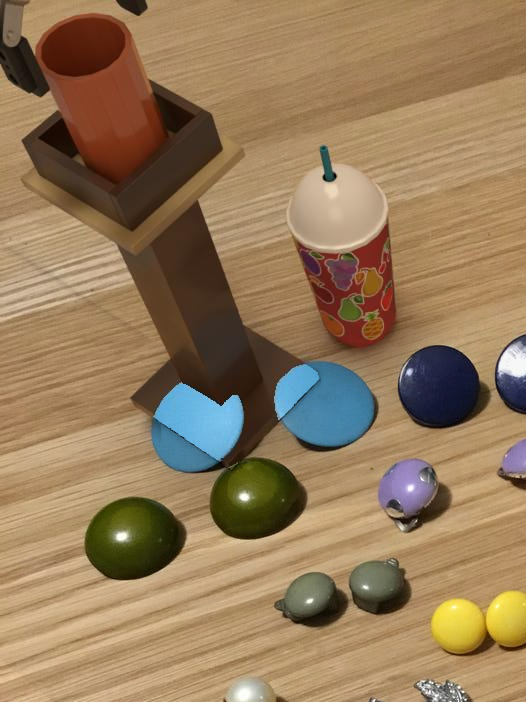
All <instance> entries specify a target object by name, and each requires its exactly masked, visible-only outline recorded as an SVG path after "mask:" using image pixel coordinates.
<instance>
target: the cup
mask: <svg viewBox="0 0 526 702" xmlns="http://www.w3.org/2000/svg"><path fill="white" fill-rule="evenodd" d="M34 47H35V48H34V49H35V50H34V55H35V57H36V59H37V61H38V64H39V66H40V68H41V70H42V72H43V74H44V76H45V79H46V81H47V83H48V85H49V87H50V91H49V93H50V96H51V98H52V100H53V102H54V104H55V107H56V110H58V111H59V113H60V115H61V117H62V119H63V121H64V124H65V126H66V128H67V130H68V132H69V134H70V136H71V139H72V141H73V143H74V145H75V147H76V149H77V151H78V154H79V156H80V158H81V160H82V162H83V164H84V166H85V167H87V168H88V169H90V170H92V171H93V172H95V173H97V174H98V175H100V176H102V177H103V178H105V179H107V180H108V181H110V182H112V183H113V184H115V185H116V186H117V185H118V184H119V183H121V182H122V181H123V180H124V179H125V178H126V177H127V176H128V175H130V174H131V173H132V172H133V171H134V170H135V169H136V168H138V167H139V166H140V165H141V164H142V163H143V162H144V161H146V160H147V159H148V158H149V157H150V156H151V155H152V154H153V153H155V152H156V151H157V150H158V149H159V148H160V147H161V146H163V145H164V144H165V143H166V142H167V141H168V140H169V139H170V137H169V134H168V132H167V129H166V126H165V123H164V121H163V118H162V115H161V113H160V110H159V107H158V104H157V102H156V99H155V96H154V94H153V91H152V88H151V86H150V83H149V80H148V79H149V78H148V75H147V72H146V69H145V66H144V65H143V61H142V59H141V56H140V52H139V50H138V48H137V44H136V42H135V39H134V37H133V34H132V32H131V31H130V29H129V28H128V26H127V25H126V23H125V22H124V21H122V20H120V19H118V18H116V17H115V16H113V15H112V14H104V13H98V12H89V13H81V14H74V15H72V16H70V17H66V18H64V19H62V20H60V21H56V23H54V24H53V25H52V26H51V27H49V28H48V29H47V30H46V31H44V32H43V33H42V35H41V37H40V38H39V39H38V42H37V43H36V45H35V46H34Z"/></svg>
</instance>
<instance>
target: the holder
mask: <svg viewBox="0 0 526 702" xmlns="http://www.w3.org/2000/svg"><path fill="white" fill-rule="evenodd" d="M148 80H149V83H150V86H151V88H152V91H153V94H154V96H155V99H156V102H157V104H158V107H159V110H160V113H161V115H162V118H163V121H164V123H165V126H166V129H167V132H168V134H169V137H170V139H169V140H168V141H167V142H166V143H165V144H164V145H163V146H161V147H160V148H159V149H158V150H157V151H156V152H155V153H153V154H152V155H151V156H150V157H149V158H148V159H147V160H146V161H144V162H143V163H142V164H141V165H140V166H139V167H138V168H136V169H135V170H134V171H133V172H132V173H131V174H130V175H128V176H127V177H126V178H125V179H124V180H123V181H122V182H121V183H119V184H118V185H117V186H116V185H115V184H113V183H112V182H110V181H108V180H107V179H105V178H103V177H102V176H100V175H98V174H97V173H95V172H93V171H92V170H90V169H88V168H87V167H85V166H84V164H83V162H82V160H81V158H80V156H79V154H78V151H77V149H76V147H75V145H74V143H73V141H72V139H71V136H70V134H69V132H68V130H67V128H66V126H65V124H64V121H63V119H62V117H61V115H60V113H59V111H58V109H56V110H55V111H54V112H53V113H52V114H50V115H49V116H48V117H47V118H46V119H45V120H43V121H42V122H41V123H40V124H39V125H37V126H36V127H35V128H33V130H31V131H30V132H29V133H28V134H27V135H25V136H24V137H23V138H22V139H21V140H20V141H21V143H22V145H23V147H24V149H25V151H26V153H27V155H28V156H29V158H30V161H31V163H32V164H33V167H32V168H30V169H29V170H28V171H26V173H24V174H23V175H22V176H21V177H20V178H19V180H20V182H21V183H22V185H23V187H24V188H26V189H27V190H29V191H30V192H32V193H34V194H35V195H37V196H38V197H40V198H42V199H43V200H45V201H46V202H48V203H50V204H51V205H53V206H54V207H56V208H58V209H59V210H61V211H63V212H64V213H65V214H67V215H69V216H70V217H73V218H74V219H75V220H78V221H79V222H80V223H82V224H84V225H85V226H87V227H89V228H90V229H92V230H93V231H95V232H97V233H98V234H100V235H101V236H103V237H105V238H106V239H108V240H110V241H112V242H113V243H114V244H116V246H117V249H118V251H119V253H120V256H121V257H122V259H123V262H124V264H125V265H126V267H127V270H128V272H129V274H130V276H131V278H132V281H133V282H134V285H135V287H136V289H137V291H138V293H139V295H140V297H141V299H142V301H143V304H144V306H145V308H146V310H147V312H148V315H149V316H150V319H151V320H152V322H153V325H154V326H155V329H156V331H157V334H158V336H159V337H160V338H159V339H161V342H162V344H163V346H164V348H165V350H166V352H167V354H168V356H169V359H168V360H167V361H166V362H165V363H164V364H163V365H162V366H161V367H160V368H159V369H157V371H156V372H155V373H154V374H152V376H150V377H149V379H148V380H147V381H145V382H144V384H142V385H141V387H139V388H138V389H137V390H136V391H135V392H134V393H133V394H132V395H131V396H130V397H129V398H130V400H131V403H132V404H133V406H134V407H135V408H137V409H139V410H140V411H142V412H143V413H145V414H146V415H148V416H149V417H150V418H152V419H154V418H153V416H154V415H155V412H156V410H157V408H158V407H159V405H160V403H161V401H162V400H163V398H164V397H165V396H166V395H167V394H168V393H169V392H170V391H171V390H172V389H173V388H174V387H175V386H176V385H178V384H179V383H181V382H182V383H183V384H186V385H188V386H190V387H191V388H193V389H195V390H196V391H198V392H200V393H202V394H203V395H205V396H207V397H208V398H210V399H211V400H213V401H215V402H216V403H217V404H219V405H220V406H222V405H223V404H224V402H226V400H228V399H229V398H230V397H231V396H232V395H238V396H239V398H240V400H241V403H242V406H243V411H244V424H243V428H242V433H241V435H240V438H239V440H238V442H237V444H236V445H235V446H234V448H233V450H232V451H231V452H230V453H229V454H228V455H226V456H225V457H224V458H221V460H222V464H223V465H222V464H221V465H222V466H223V467H224V468H226V469H228V467H230V466H232V465H234V464H236V463H237V462H239V461H241V460H242V461H243V460H244V459H245V458H246V457H247V456H248V454H250V452H252V450H253V449H254V448H255V447H256V446H257V445H258V444H259V443H260V442H261V441H262V440H263V439H264V438H265V437H266V436H267V435H268V434H269V433H270V432H271V431H272V430H273V429H274V428H275V426H276V425H278V424H279V423H280V421H279V420H278V417H277V413H276V411H275V403H274V396H275V390H276V386H277V383H278V382H279V380H280V379H281V378H282V377H283V376H285V374H287V373H288V372H289V371H290V370H291V369H292V368H294V367H296V366H299V365H303V364H307V363H306V362H305V361H303V360H301V359H300V358H298V357H296V356H295V355H293V354H291V352H288V351H287V350H285V349H284V348H282V347H280V346H279V345H277V344H276V343H274V342H272V341H270V340H269V339H267V338H265V337H264V336H262V334H260V333H258V332H256V331H254V330H253V329H251V328H249V327H248V326H246V325H245V324H244V323H243V320H242V317H241V315H240V312H239V309H238V306H237V303H236V300H235V297H234V296H233V293H232V289H231V287H230V284H229V281H228V279H227V275H226V273H225V271H224V270H225V269H224V268H223V264H222V262H221V260H220V256H219V254H218V251H217V248H216V245H215V242H214V240H213V237H212V234H211V231H210V229H209V226H208V224H207V221H206V218H205V215H204V212H203V210H202V206H201V204H200V202H199V199H200V198H202V196H204V195H205V194H206V193H207V192H208V191H209V190H210V189H211V188H212V187H214V185H215V184H217V183H218V182H220V181H221V179H222V178H223V177H224V176H226V175H227V174H228V173H229V172H230V171H231V170H232V169H233V168H234V167H235V166H236V165H238V164H239V163H240V162H241V161H242V160H243V159H244V158H245V157H246V153H245V150H244V147H243V146H241V145H240V144H238V143H236V142H235V141H233V140H231V139H229V138H228V137H226V136H224V135H222V134H220V133H219V132H218V129H217V125H216V122H215V118H214V116H213V114H212V113H211V112H210V111H208V110H206V109H204V108H203V107H201V106H199V105H198V104H195V103H193V102H192V101H190V100H188V99H187V98H186V97H183V96H181V95H180V94H178V93H176V92H174V91H172V90H170V89H168V88H166V87H165V86H163V85H161V84H160V83H157V82H156V81H154V80H152V79H151V78H148ZM264 436H265V437H264ZM262 438H263V439H262ZM260 440H261V441H260ZM242 461H241V462H242Z"/></svg>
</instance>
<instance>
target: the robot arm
mask: <svg viewBox="0 0 526 702" xmlns="http://www.w3.org/2000/svg"><path fill="white" fill-rule="evenodd" d="M115 1H116V3H117V5H118V6H119V7H120V8H121V9H123V10H125V11H127V12H129V13H131V14H133V15H134V16H137V17H140V16H141V15H142V14H144V13H145V12H146V11H147V10H148V8H149V6H148V3H147V1H146V0H115ZM30 3H31V0H0V67H1V69H2V71H3V72H4V76H5V77H6V79H7V80H8V82H10V83H11V84H12V85H14V86H15V87H17V88H18V89H21V91H23V92H26V93H28V95H30V94H33V95H35V96H36V97H38V98H43V97H44V96H45V95H46V94H48V93H50V87H49V85H48V83H47V81H46V79H45V76H44V74H43V72H42V70H41V68H40V66H39V64H38V61H37V59H36V57H35V52H34V51H33V49H32V47H31V44H30V42H29V40H28V38H27V37H25V36H23V35H22V29H23V28H22V27H23V17H24V8H25V6H27V5H28V4H30Z"/></svg>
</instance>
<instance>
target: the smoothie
mask: <svg viewBox="0 0 526 702" xmlns="http://www.w3.org/2000/svg"><path fill="white" fill-rule="evenodd" d="M318 151H319V155H320V159H321V164H320V165H318V166H315V167H313V168H312V169H310V170H309V171H308V172H307V173H306V174H304V175H303V177H302V178H301V179H300V180H299V182H298V183H297V184H296V186H295V188H294V191H293V194H292V196H291V198H290V199H289V201H288V203H287V207H286V211H285V219H286V226H287V229H288V230H289V231H290V235H291V238H292V240H293V243H294V245H295V248H296V251H297V253H298V257H299V260H300V262H301V265H302V268H303V271H304V273H305V276H306V279H307V282H308V284H309V287H310V290H311V293H312V297H313V299H314V302H315V304H316V307H317V309H318V313H319V315H320V318H321V321H322V323H323V324H322V325H323V326H324V327H325V329H326V331H327V332H328V334H330V335H331V336H333V337H334V338H335V339H336V340H338V341H339V342H341V343H342V344H344V345H346V346H349V347H354V348H355V347H358V348H362V347H363V348H364V347H368V346H372V345H374V344H376V343H379V342H380V341H381V340H383V338H385V337H386V336H387V335H388V333H389V331H390V329H391V327H392V325H393V324H394V322H395V321H396V315H397V304H396V303H397V302H396V291H395V288H396V287H395V278H394V265H393V255H392V243H391V241H392V240H391V231H390V230H391V229H390V227H391V226H390V218H389V211H390V210H389V202H388V197H387V196H386V194H385V193H384V190H383V189H382V187H381V186H380V185H378V184H377V183H376V182H374V181H373V179H371V178H370V177H369V176H368V174H366V173H364V172H363V171H362V170H360V169H359V168H357V167H356V166H353V165H349V164H347V163H343V162H331V157H330V152H329V147H328V145H325V144H321V145H320V146H319V150H318Z"/></svg>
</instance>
